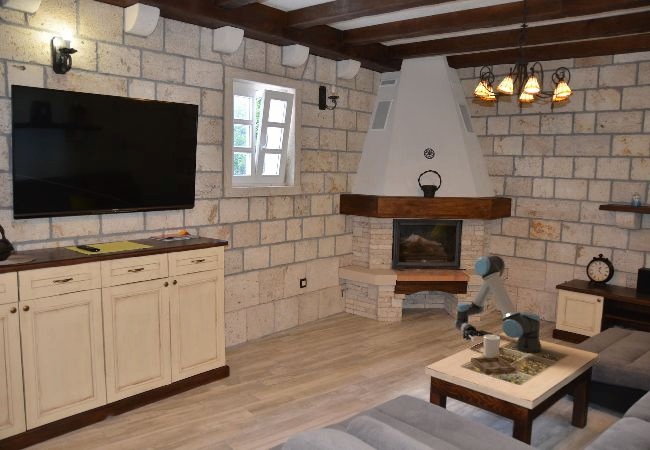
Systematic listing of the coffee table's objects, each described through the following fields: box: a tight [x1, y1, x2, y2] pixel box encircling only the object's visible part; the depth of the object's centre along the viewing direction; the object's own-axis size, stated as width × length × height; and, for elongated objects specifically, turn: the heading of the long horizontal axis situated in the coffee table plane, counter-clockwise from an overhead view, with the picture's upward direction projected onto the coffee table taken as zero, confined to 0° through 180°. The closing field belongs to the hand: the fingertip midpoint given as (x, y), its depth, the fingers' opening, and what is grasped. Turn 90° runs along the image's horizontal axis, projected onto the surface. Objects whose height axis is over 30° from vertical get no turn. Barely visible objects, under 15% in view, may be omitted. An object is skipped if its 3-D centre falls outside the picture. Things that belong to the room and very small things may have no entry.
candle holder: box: [482, 334, 501, 357], centre depth 320 cm, size 10×10×12 cm
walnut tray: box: [470, 355, 516, 375], centre depth 302 cm, size 18×18×3 cm
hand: (483, 339), depth 329 cm, fingers open, 13 cm apart
